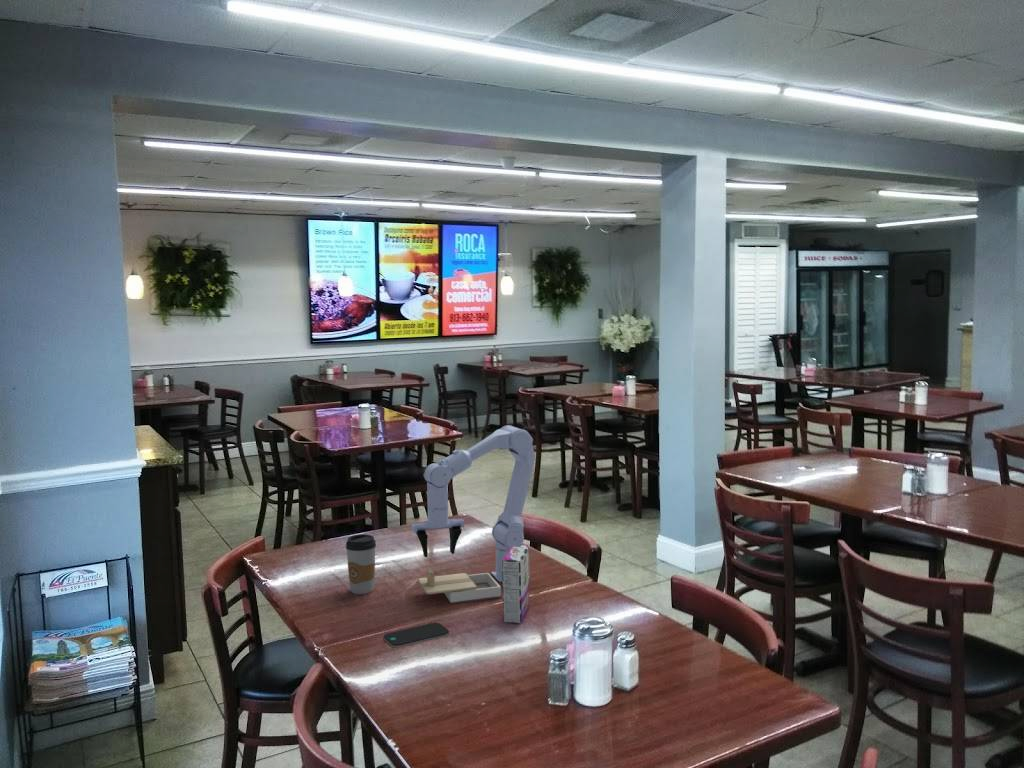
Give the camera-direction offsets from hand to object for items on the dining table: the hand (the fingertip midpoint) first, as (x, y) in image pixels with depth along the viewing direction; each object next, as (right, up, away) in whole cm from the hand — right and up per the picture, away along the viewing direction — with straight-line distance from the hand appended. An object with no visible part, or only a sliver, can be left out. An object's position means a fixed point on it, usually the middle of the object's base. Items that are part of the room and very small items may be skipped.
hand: (438, 554), depth 221 cm
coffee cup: (-21, -10, 0) cm, 24 cm away
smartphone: (-3, -14, -30) cm, 33 cm away
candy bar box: (+21, -12, -19) cm, 31 cm away
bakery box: (+9, -10, -3) cm, 14 cm away
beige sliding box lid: (+3, -7, -5) cm, 9 cm away
